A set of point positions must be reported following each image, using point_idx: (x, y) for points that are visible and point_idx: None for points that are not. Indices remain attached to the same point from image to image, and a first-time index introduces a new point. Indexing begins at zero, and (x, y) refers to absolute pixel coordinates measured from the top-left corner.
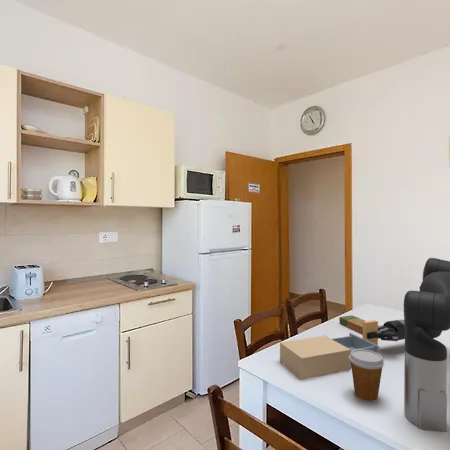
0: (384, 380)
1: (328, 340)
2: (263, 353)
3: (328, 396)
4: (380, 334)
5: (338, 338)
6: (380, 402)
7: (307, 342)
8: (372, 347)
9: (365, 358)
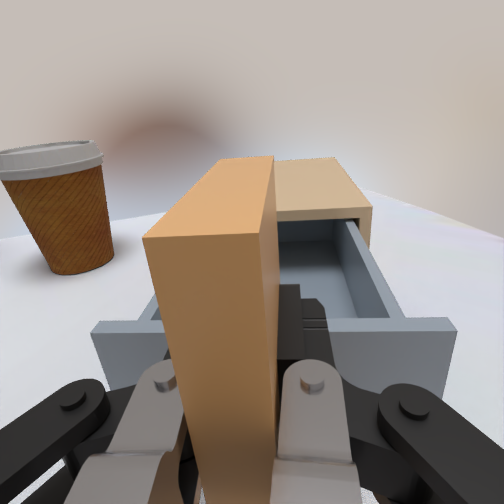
0: (50, 335)
1: (304, 201)
2: (390, 202)
3: (150, 224)
4: (109, 398)
5: (359, 253)
6: (41, 267)
7: (311, 176)
8: (139, 319)
9: (45, 149)
